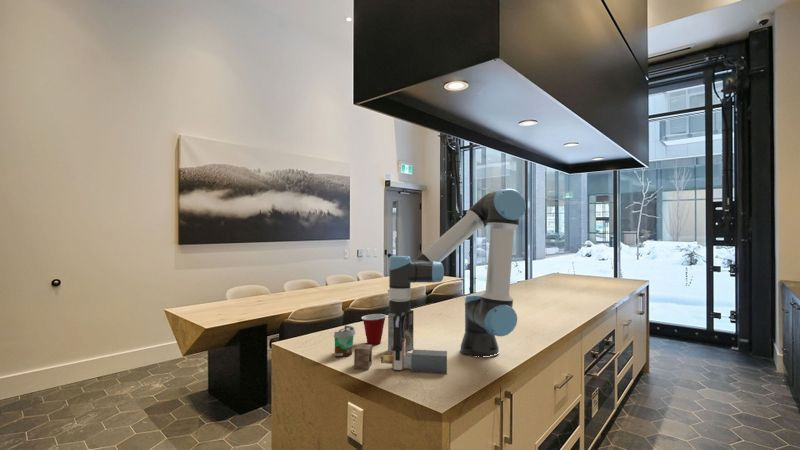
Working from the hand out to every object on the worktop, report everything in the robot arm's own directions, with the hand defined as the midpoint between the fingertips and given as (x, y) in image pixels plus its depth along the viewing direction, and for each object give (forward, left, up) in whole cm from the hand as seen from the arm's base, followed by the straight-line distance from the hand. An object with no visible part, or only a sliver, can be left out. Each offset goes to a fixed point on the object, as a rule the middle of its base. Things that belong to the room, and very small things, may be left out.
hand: (398, 366), depth 133 cm
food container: (+22, -13, -1) cm, 26 cm away
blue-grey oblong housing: (-11, 0, -1) cm, 11 cm away
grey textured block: (+13, 0, -1) cm, 13 cm away
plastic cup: (+15, -31, -1) cm, 35 cm away
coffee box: (+2, -23, -1) cm, 23 cm away
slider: (-5, 0, 0) cm, 5 cm away
